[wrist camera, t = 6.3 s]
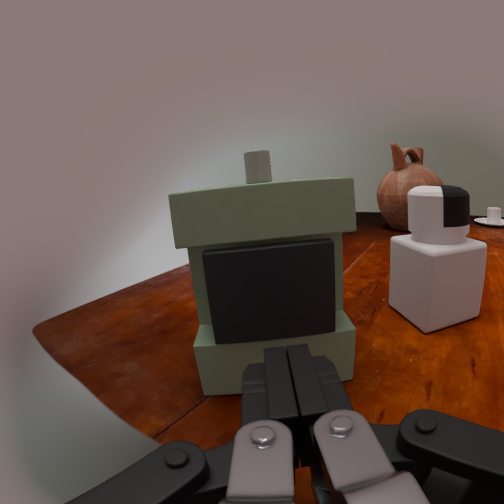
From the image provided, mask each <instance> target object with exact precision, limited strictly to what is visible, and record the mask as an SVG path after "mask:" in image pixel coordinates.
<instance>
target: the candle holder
mask: <svg viewBox="0 0 504 504" xmlns="http://www.w3.org/2000/svg"><path fill="white" fill-rule="evenodd" d="M474 220H475V221H476V222H478V223H480V224H483V225H487V226H497V227H501V226H504V220H503V219H501V209H500V208H496V207H488V208H487V218H477V219H474Z"/></svg>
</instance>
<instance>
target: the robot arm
mask: <svg viewBox="0 0 504 504" xmlns="http://www.w3.org/2000/svg"><path fill="white" fill-rule="evenodd" d="M263 352H264V363H254V364H248V366H247V367H246V369H245V370H244V372H243V373H242V411H241V429H240V430H239V431H238V432H237V434H236V437H235V438H234V439H233V440H232V441H230V442H229V443H227V444H225V445H222V446H219V447H216V448H212V449H208V450H204V451H203V450H202V449H201V448H200V447H199V446H198V445H196V444H194V443H191V442H187V441H174V442H169V443H166V444H164V445H162V446H160V447H159V448H157V449H156V450H154V451H153V452H151V453H150V454H148V455H147V456H145V457H144V458H142V459H140V460H139V461H138V462H136V463H134V464H133V465H131V466H130V467H128V468H126V469H125V470H123V471H121V472H120V473H118V474H116V475H115V476H113V477H112V478H110V479H108V480H106V481H105V482H103V483H102V484H100V485H98V486H96V487H94V488H93V489H91V490H89V491H87V492H85V493H84V494H82V495H80V496H78V497H76V498H75V499H72V500H71V501H69V502H67V503H65V504H295V501H294V486H295V468H299V457H300V463H301V467H307V466H310V471H311V476H312V477H311V488H312V491H313V495H314V498H315V502H316V504H504V432H502V431H498V430H495V429H491V428H488V427H484V426H481V425H478V424H475V423H471V422H468V421H465V420H462V419H459V418H456V417H453V416H450V415H447V414H444V413H441V412H438V411H435V410H430V409H420V410H416V411H413V412H411V413H409V414H407V415H406V416H405V417H404V418H403V419H402V421H401V424H398V425H378V424H372V423H369V422H367V420H366V419H365V418H364V417H363V416H362V415H361V414H359V413H357V412H355V411H354V409H353V407H352V405H351V402H350V400H349V398H348V395H347V393H346V391H345V388H344V386H343V384H342V382H341V379H340V377H339V375H338V374H337V370H336V368H335V365H334V363H333V362H332V361H330V360H329V359H328V358H327V357H325V356H324V355H322V356H315V357H312V356H311V353H310V350H309V347H308V345H307V343H306V344H298V345H290V346H286V352H285V347H284V346H282V347H272V348H263Z"/></svg>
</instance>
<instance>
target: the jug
mask: <svg viewBox="0 0 504 504" xmlns="http://www.w3.org/2000/svg"><path fill="white" fill-rule="evenodd" d="M391 149H392V156H393V163H394V168H393V169H392V170H390V171H389V172H388V173H386V175H385V176H384V177H383V179H382V181H381V183H380V185H379V187H378V190H377V201H378V206H379V209H380V211H381V213H382V215H383V217H384V218H385V220H386V221H387V223H388V224H389V225H390V227H391V228H393V229H396V230H403V231H409V230H408V197H407V194H408V192H409V191H410V190H411V189H413V188H414V187H417V186H424V185H444V184H443V182H442V181H441V179H440V178H439V177H438V176H437V175H436V174H435V173H433V172H432V171H431V170H430V169H428V168H426V167H424V166H422V165H423V149H422V148H420V147H415V148H414V149H411V148H404V149H400V148H399V147H398V145H397V144H396V143H391ZM407 154H408V155H409V157H410V159H411V162H412V163H406V162H405V157H406V155H407Z"/></svg>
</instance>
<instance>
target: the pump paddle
mask: <svg viewBox="0 0 504 504" xmlns="http://www.w3.org/2000/svg"><path fill="white" fill-rule="evenodd" d="M202 262H203V269H204V276H205V283H206V289H207V296H208V302H209V309H210V315H211V321H212V327H213V333H214V339H215V344H216V345H219V344H233V343H245V342H256V341H267V340H276V339H285V338H294V337H302V336H310V335H317V334H325V333H332V332H335V326H336V296H335V253H334V241H333V240H331V239H330V238H324V239H313V240H303V241H293V242H282V243H272V244H262V245H252V246H242V247H232V248H222V249H212V250H204V252H203V253H202Z"/></svg>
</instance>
